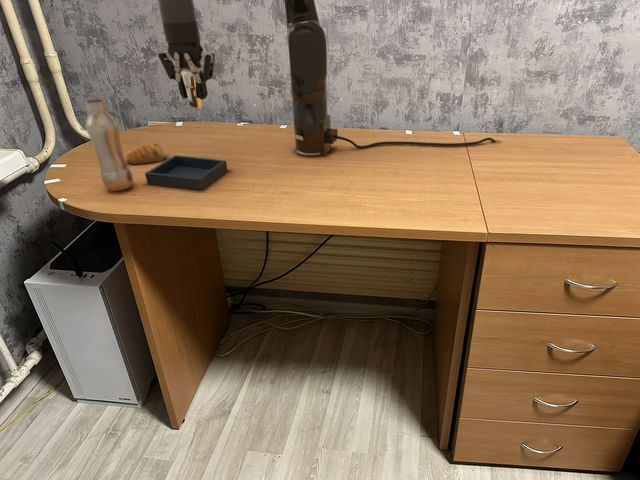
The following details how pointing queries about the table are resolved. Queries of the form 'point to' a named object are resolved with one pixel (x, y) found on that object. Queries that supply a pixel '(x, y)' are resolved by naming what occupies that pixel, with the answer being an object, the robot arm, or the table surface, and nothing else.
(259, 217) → the table surface
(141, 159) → the pastry
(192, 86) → the milkshake
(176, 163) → the tray
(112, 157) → the plastic bottle
